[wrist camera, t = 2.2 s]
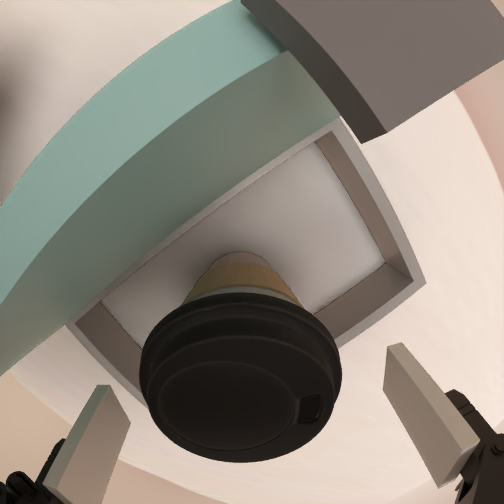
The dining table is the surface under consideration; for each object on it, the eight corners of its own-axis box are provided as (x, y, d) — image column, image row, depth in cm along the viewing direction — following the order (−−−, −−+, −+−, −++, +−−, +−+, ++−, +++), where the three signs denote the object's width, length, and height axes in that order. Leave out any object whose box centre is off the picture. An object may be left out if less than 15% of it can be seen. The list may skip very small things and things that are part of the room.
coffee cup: (310, 303, 26) (373, 426, 11) (219, 346, 27) (208, 483, 12) (263, 209, 24) (301, 266, 9) (164, 262, 24) (85, 368, 10)
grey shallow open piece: (85, 296, 25) (60, 319, 20) (315, 122, 22) (334, 110, 17) (184, 399, 28) (177, 432, 24) (398, 264, 25) (426, 283, 21)
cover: (71, 339, 20) (54, 317, 19) (353, 131, 17) (332, 102, 16) (-53, 460, 4) (-81, 422, 4) (564, 24, 1) (495, -63, 1)
